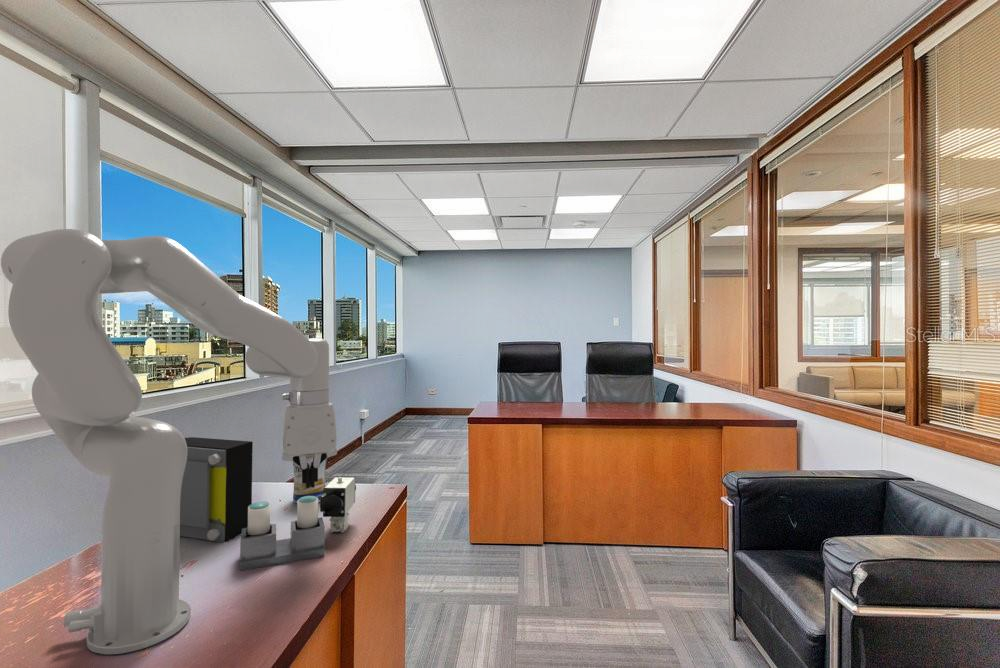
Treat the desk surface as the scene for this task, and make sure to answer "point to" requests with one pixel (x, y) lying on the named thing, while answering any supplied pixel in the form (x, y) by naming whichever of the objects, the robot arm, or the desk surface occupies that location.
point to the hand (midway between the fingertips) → (309, 485)
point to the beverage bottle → (301, 488)
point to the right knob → (307, 512)
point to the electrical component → (216, 489)
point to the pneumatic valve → (338, 502)
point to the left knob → (259, 518)
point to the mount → (281, 546)
